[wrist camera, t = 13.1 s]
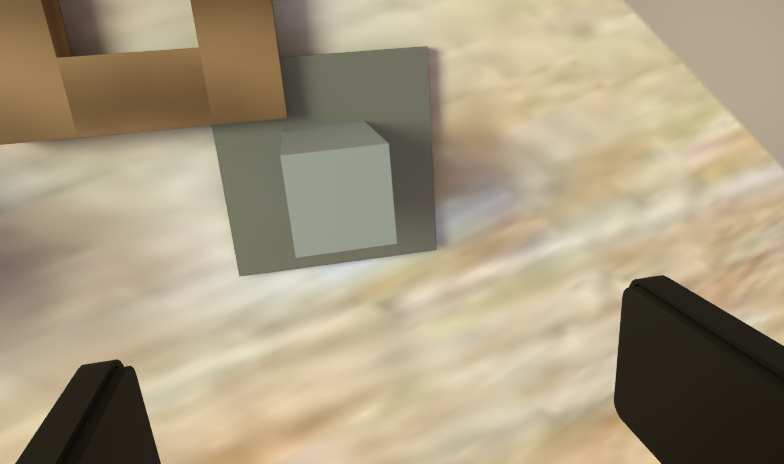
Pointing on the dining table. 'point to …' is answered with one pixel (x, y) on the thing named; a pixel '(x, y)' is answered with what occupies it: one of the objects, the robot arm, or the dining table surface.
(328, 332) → the dining table surface
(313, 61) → the coaster
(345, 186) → the slate block
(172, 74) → the board
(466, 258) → the dining table surface
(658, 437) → the robot arm
